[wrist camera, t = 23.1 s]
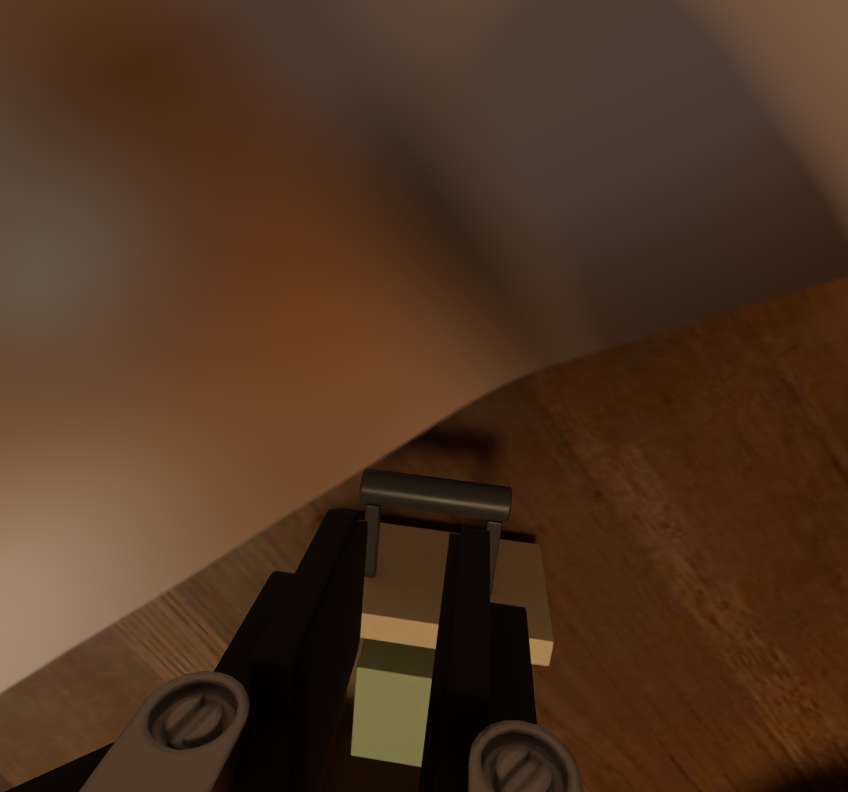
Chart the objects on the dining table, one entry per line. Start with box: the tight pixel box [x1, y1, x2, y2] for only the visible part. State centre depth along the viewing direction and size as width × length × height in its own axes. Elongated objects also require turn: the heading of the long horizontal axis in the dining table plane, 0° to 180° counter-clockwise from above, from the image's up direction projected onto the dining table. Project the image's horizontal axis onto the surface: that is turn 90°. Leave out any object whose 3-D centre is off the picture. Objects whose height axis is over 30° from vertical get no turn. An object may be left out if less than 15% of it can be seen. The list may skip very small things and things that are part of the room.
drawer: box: [317, 468, 554, 792], centre depth 27 cm, size 17×10×7 cm, turn 175°
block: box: [351, 638, 436, 767], centre depth 28 cm, size 5×5×5 cm
